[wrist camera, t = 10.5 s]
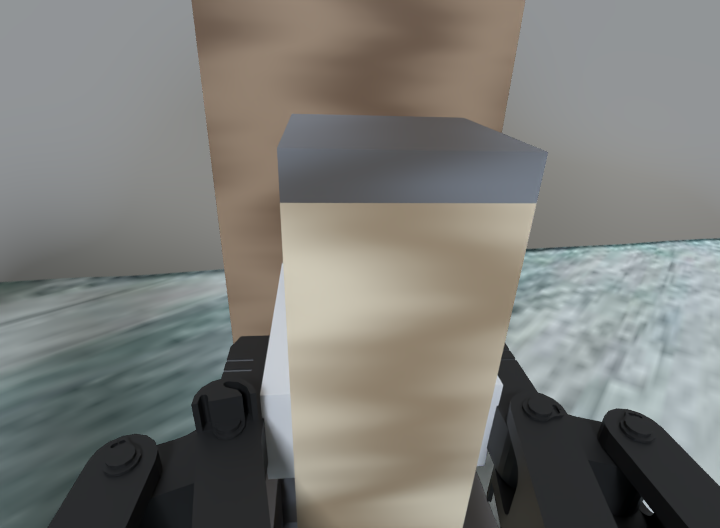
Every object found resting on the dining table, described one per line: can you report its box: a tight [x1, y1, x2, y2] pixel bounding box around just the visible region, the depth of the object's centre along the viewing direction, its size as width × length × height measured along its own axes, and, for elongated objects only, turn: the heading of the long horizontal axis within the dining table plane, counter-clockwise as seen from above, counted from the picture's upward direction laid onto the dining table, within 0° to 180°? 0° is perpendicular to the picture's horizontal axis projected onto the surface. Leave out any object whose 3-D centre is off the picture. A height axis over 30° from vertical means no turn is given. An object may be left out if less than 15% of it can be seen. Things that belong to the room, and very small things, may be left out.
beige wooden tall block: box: [277, 114, 548, 528], centre depth 11 cm, size 4×4×15 cm
